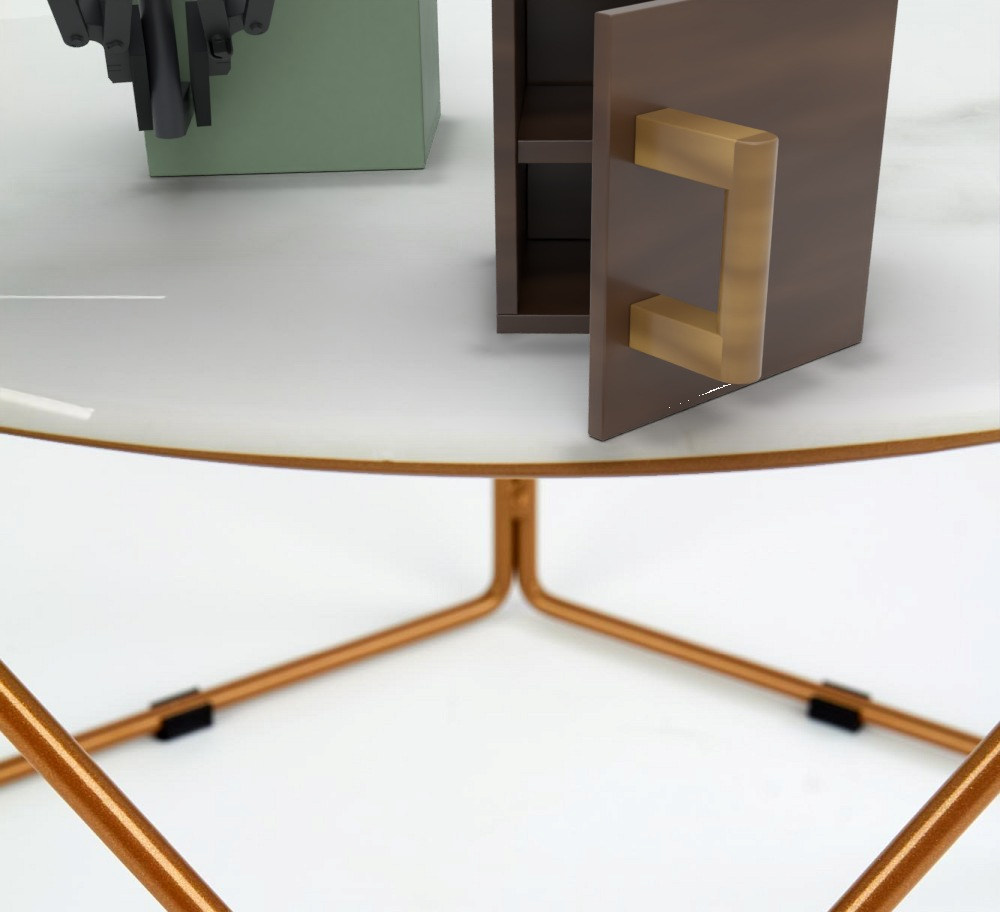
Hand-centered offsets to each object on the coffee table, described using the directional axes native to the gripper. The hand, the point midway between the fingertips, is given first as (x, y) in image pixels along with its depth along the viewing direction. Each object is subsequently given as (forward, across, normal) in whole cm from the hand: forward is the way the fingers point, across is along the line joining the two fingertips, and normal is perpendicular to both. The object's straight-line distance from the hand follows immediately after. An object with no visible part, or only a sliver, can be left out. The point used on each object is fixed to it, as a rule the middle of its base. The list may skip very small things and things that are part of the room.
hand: (171, 104), depth 88 cm
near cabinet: (-13, +20, -19) cm, 30 cm away
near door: (-23, +20, -28) cm, 42 cm away
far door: (+2, +5, -4) cm, 7 cm away
